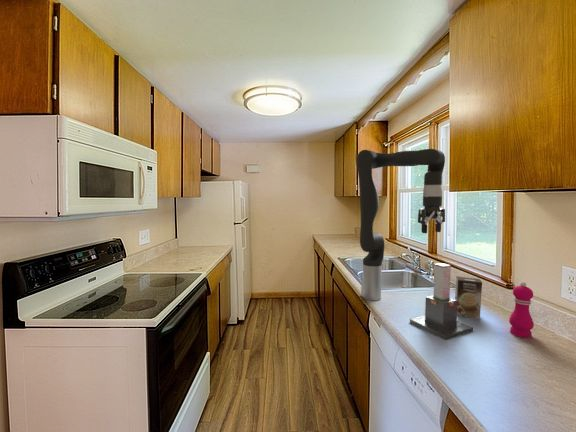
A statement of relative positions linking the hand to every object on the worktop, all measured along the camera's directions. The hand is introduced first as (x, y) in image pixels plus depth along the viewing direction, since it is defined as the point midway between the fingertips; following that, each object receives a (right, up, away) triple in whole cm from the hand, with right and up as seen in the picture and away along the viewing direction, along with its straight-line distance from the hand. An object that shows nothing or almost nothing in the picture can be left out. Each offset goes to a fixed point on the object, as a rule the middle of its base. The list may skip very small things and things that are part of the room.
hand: (431, 232), depth 127 cm
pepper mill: (+25, -38, -18) cm, 49 cm away
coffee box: (+16, -36, 0) cm, 40 cm away
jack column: (-2, -30, -12) cm, 33 cm away
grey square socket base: (-2, -37, -12) cm, 39 cm away
